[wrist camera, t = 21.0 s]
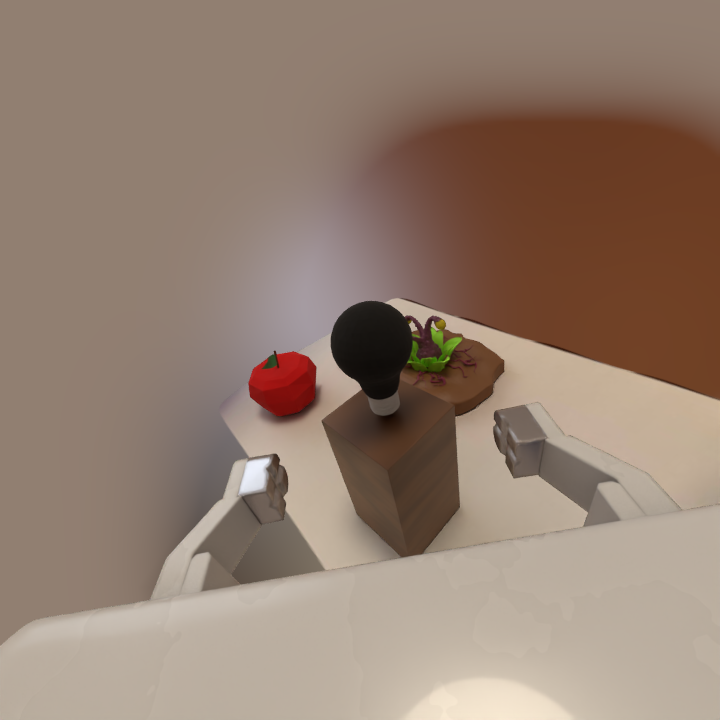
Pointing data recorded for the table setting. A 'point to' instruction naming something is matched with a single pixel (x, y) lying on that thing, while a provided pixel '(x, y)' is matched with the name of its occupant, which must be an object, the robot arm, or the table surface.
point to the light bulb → (373, 351)
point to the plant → (451, 365)
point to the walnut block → (399, 465)
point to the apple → (283, 383)
